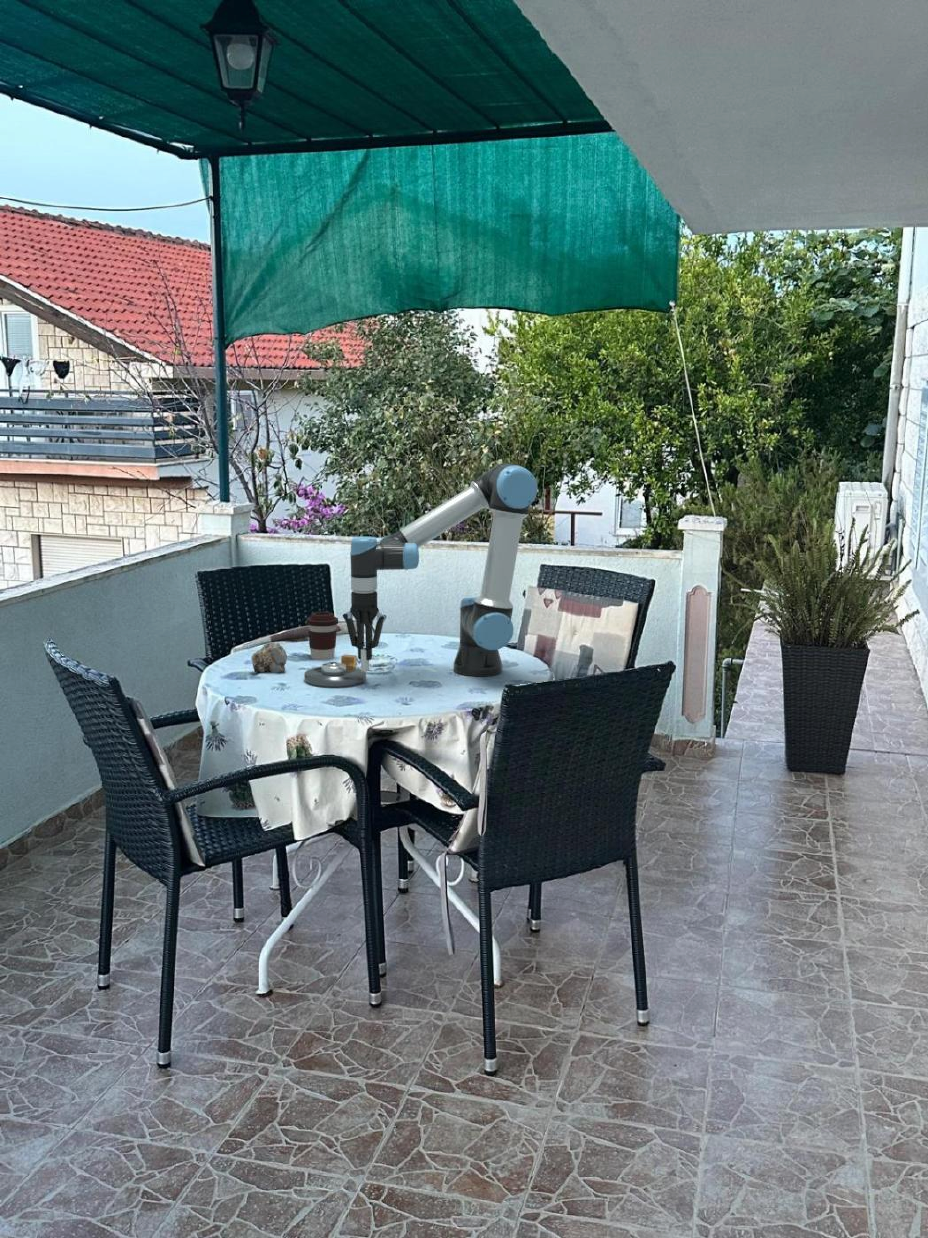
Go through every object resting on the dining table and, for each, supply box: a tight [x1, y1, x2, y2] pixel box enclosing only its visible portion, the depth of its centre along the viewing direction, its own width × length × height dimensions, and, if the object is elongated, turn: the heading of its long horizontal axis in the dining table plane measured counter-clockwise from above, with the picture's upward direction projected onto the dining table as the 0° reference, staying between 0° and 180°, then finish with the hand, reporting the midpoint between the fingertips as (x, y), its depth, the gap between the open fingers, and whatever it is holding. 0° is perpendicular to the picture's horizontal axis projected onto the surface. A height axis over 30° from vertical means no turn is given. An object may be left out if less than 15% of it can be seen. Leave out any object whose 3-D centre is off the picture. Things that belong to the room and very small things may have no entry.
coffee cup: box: [306, 611, 339, 661], centre depth 368 cm, size 10×10×15 cm
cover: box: [321, 661, 346, 676], centre depth 341 cm, size 7×7×3 cm
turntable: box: [303, 654, 367, 689], centre depth 343 cm, size 18×21×5 cm
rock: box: [251, 641, 288, 675], centre depth 351 cm, size 9×12×10 cm
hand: (365, 670), depth 339 cm, fingers closed
